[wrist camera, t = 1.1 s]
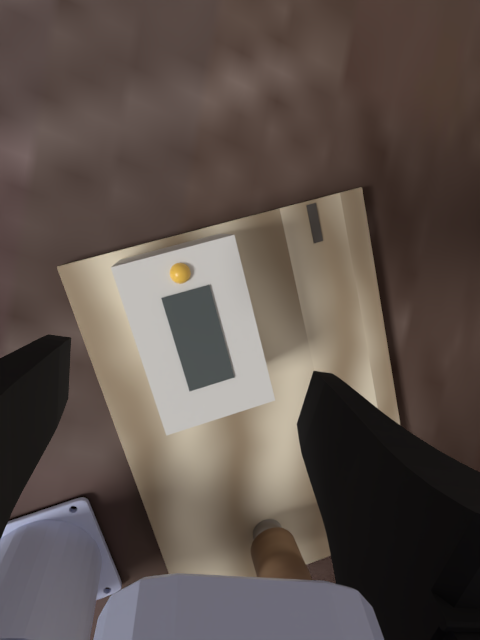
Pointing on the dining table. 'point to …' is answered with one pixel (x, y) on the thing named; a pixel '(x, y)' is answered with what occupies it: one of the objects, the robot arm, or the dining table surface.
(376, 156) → the dining table surface
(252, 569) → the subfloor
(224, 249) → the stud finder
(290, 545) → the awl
